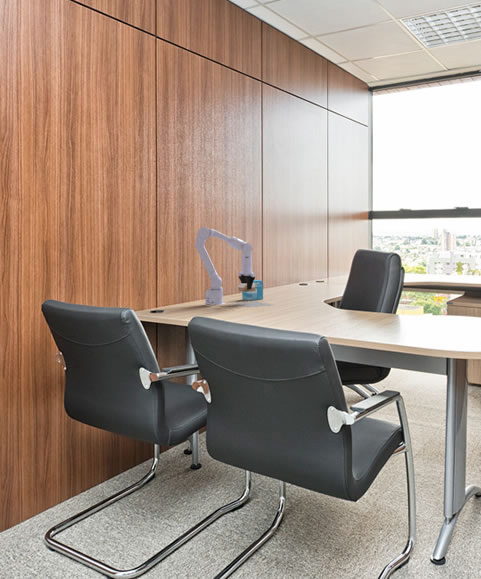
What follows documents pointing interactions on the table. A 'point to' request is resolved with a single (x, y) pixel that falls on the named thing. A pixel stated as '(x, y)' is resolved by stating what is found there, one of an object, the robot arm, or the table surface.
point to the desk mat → (252, 304)
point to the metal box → (245, 287)
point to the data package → (254, 292)
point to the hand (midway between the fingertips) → (246, 288)
